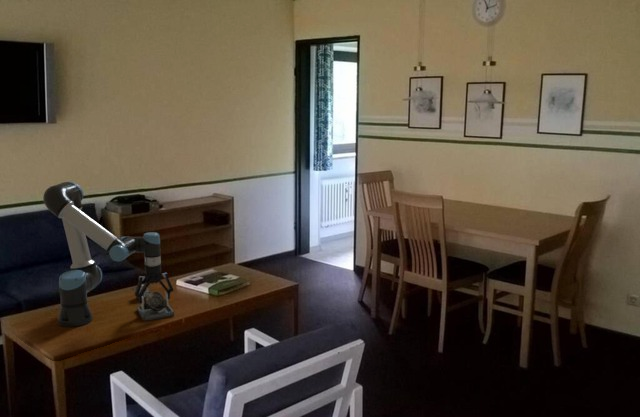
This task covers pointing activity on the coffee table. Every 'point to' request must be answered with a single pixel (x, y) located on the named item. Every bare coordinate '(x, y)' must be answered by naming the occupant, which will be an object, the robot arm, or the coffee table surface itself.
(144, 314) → the tray
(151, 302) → the fossil
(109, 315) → the coffee table surface
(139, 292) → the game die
